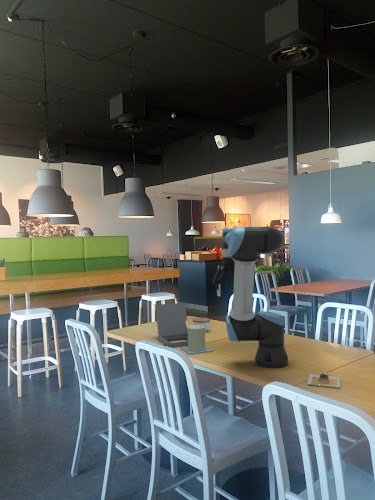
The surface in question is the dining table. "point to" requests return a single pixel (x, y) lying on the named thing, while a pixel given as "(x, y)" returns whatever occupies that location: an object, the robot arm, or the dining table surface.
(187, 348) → the mat
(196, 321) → the lidded jar
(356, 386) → the dining table surface
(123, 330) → the dining table surface
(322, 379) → the dessert
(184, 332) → the case
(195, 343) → the can
